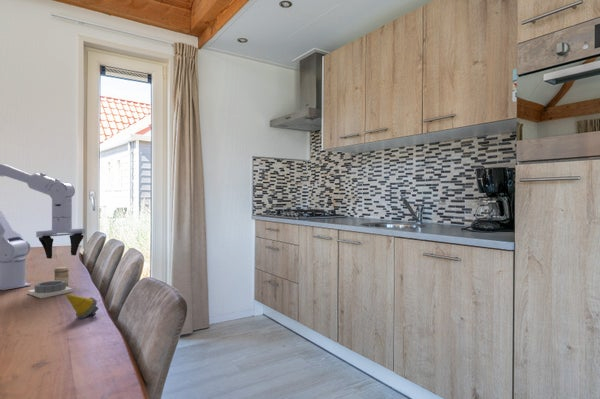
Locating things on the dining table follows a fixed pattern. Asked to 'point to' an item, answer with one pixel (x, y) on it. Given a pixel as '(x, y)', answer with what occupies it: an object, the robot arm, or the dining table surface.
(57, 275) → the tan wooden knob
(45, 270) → the dining table surface
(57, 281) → the collar stand
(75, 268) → the dining table surface
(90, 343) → the dining table surface
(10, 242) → the robot arm
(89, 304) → the cone
